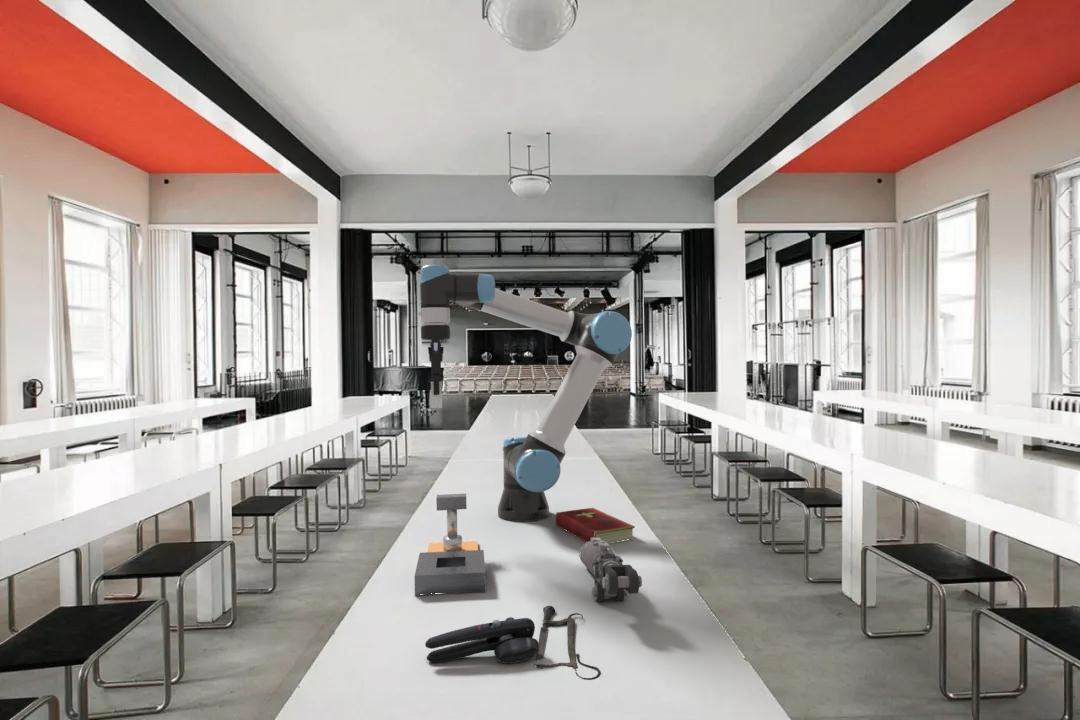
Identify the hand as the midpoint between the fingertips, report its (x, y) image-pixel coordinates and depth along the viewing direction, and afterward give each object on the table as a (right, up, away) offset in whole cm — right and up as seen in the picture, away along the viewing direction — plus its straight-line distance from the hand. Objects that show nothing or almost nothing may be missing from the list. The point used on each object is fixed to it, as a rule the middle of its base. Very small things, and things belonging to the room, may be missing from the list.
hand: (436, 405), depth 162 cm
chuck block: (+8, -35, -32) cm, 48 cm away
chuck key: (+6, -34, -14) cm, 37 cm away
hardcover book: (+41, -35, +2) cm, 54 cm away
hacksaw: (+32, -36, -59) cm, 76 cm away
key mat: (+6, -34, -14) cm, 38 cm away
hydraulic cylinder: (+40, -35, -37) cm, 65 cm away
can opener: (+18, -35, -64) cm, 76 cm away
